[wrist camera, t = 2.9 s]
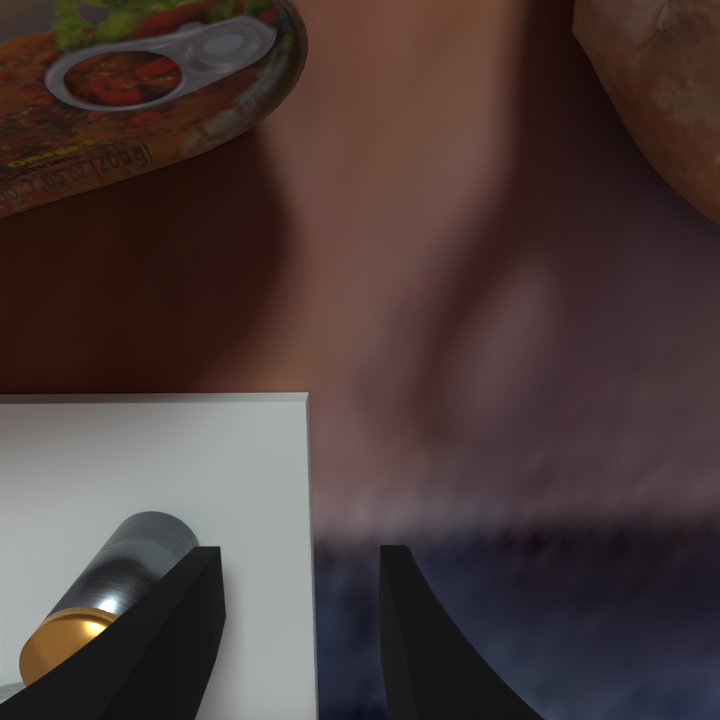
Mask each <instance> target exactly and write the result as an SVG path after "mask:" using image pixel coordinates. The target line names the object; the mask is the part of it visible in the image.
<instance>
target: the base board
mask: <svg viewBox="0 0 720 720" xmlns="http://www.w3.org/2000/svg"><path fill="white" fill-rule="evenodd" d="M147 511H157V512H163V513H167V514H170V515H172V516H174V517H176V518H178V519H180V520H181V521H183V522H184V523H185V524H186V525H187V526H188V527H189V528H190V529H191V530H192V532H193V533H194V535H195V537H196V539H197V541H198V545H199V546H220V549H221V561H222V573H223V585H224V597H225V610H226V620H225V624H224V628H223V633H222V637H221V642H220V646H219V650H218V654H217V658H216V662H215V664H214V667H213V670H212V673H211V676H210V679H209V682H208V684H207V687H206V690H205V693H204V696H203V698H202V701H201V704H200V707H199V709H198V712H197V715H196V718H195V720H319V713H318V681H317V649H316V617H315V585H314V552H313V520H312V488H311V456H310V423H309V392H293V393H139V394H0V687H1V686H4V685H8V684H13V683H19V682H23V680H22V678H21V674H20V670H19V658H20V653H21V651H22V648H23V646H24V645H25V643H26V642H27V640H28V639H29V638H30V637H31V635H32V634H33V633H34V632H35V630H36V629H37V628H38V627H39V625H40V624H41V623H42V622H43V620H44V619H45V618H46V617H47V615H48V614H49V613H50V612H51V610H52V609H53V608H54V607H55V605H56V604H57V603H58V602H59V600H60V599H61V598H62V597H63V595H64V594H65V593H66V592H67V590H68V589H69V588H70V587H71V585H72V584H73V583H74V582H75V580H76V579H77V578H78V577H79V575H80V574H81V573H82V572H83V570H84V569H85V568H86V567H87V565H88V564H89V563H90V562H91V560H92V559H93V558H94V557H95V555H96V554H97V553H98V552H99V550H100V549H101V548H102V547H103V545H104V544H105V543H106V542H107V540H108V539H109V538H110V537H111V535H112V534H113V533H114V532H115V530H116V529H117V528H118V527H119V526H120V524H121V523H122V522H123V521H124V520H126V519H127V518H129V517H130V516H132V515H134V514H137V513H141V512H147Z"/></svg>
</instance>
